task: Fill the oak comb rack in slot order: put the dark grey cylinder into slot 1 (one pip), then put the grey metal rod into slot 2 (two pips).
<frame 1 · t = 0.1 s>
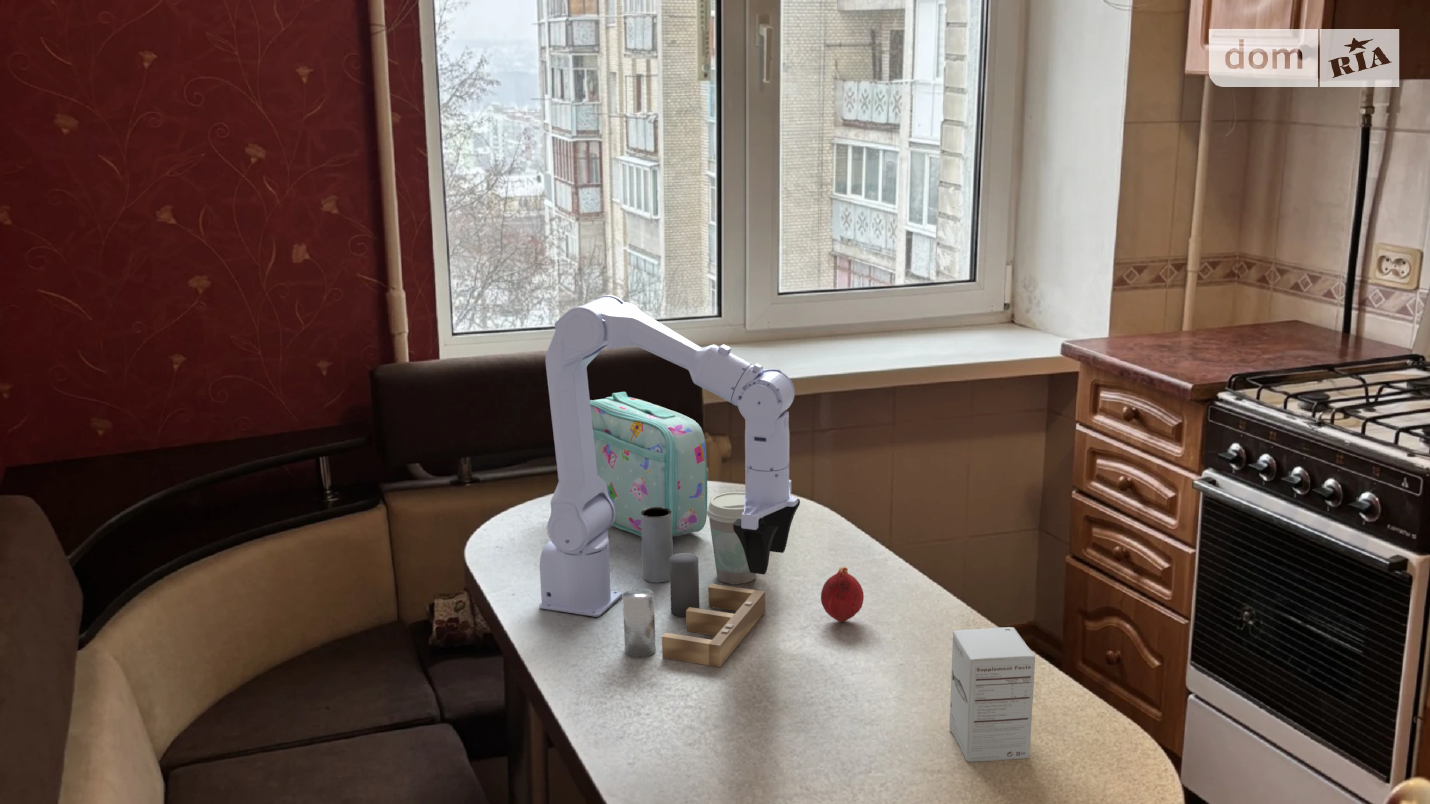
hand: (767, 561, 168), 10 cm above the table, tool pointing down, fingers open, 7 cm apart
rack: (715, 633, 170), on the table
dark grey cylinder: (685, 612, 177), on the table
coffee cup: (736, 577, 189), on the table
supplement box: (988, 745, 142), on the table
lunch box: (637, 525, 210), on the table
grey rod: (640, 651, 166), on the table
onion: (841, 623, 173), on the table
grey tubular piece: (658, 578, 189), on the table
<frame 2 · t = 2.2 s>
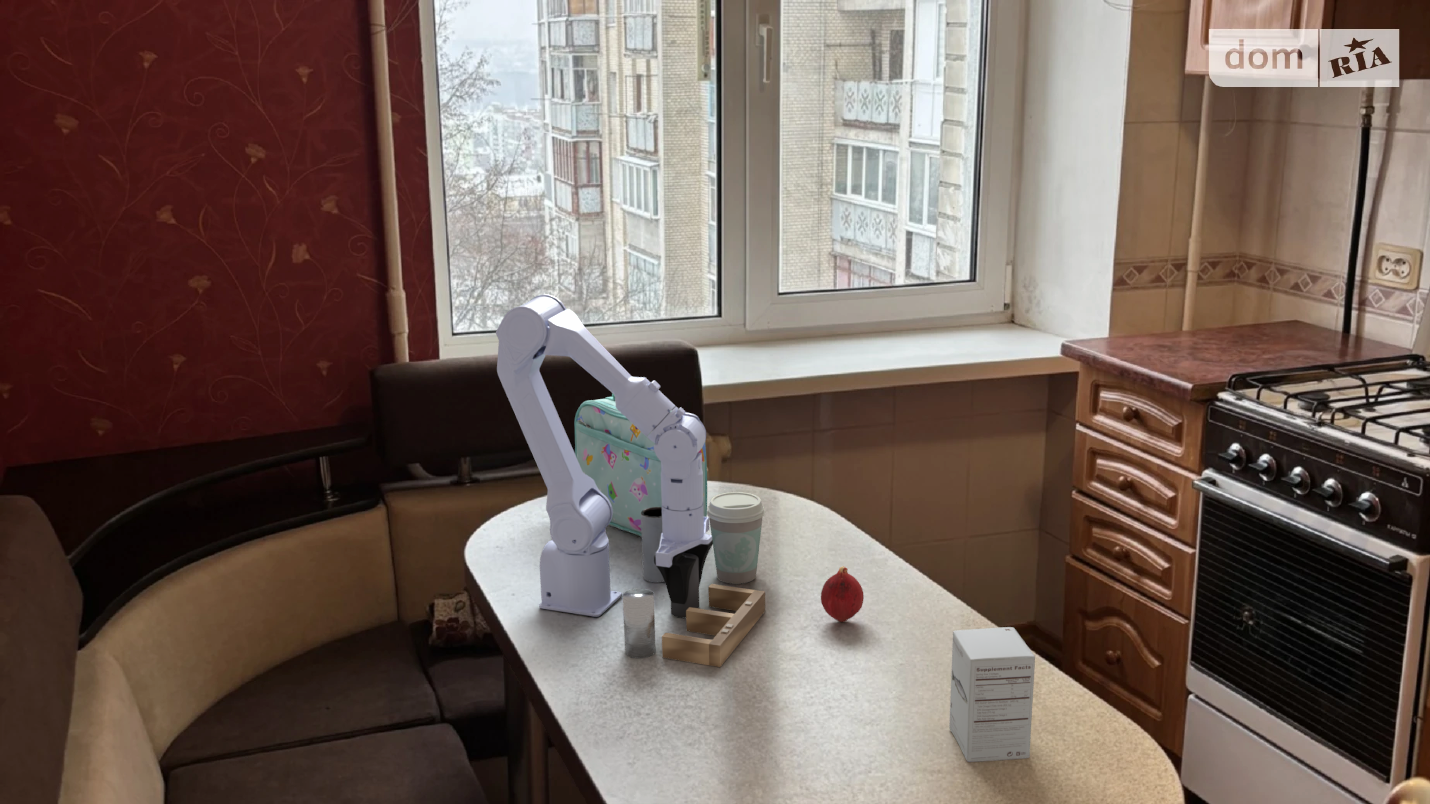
hand: (684, 595, 177), 2 cm above the table, tool pointing down, fingers closed on dark grey cylinder, 4 cm apart
dark grey cylinder: (685, 611, 177), on the table, touching gripper
everything else where it was.
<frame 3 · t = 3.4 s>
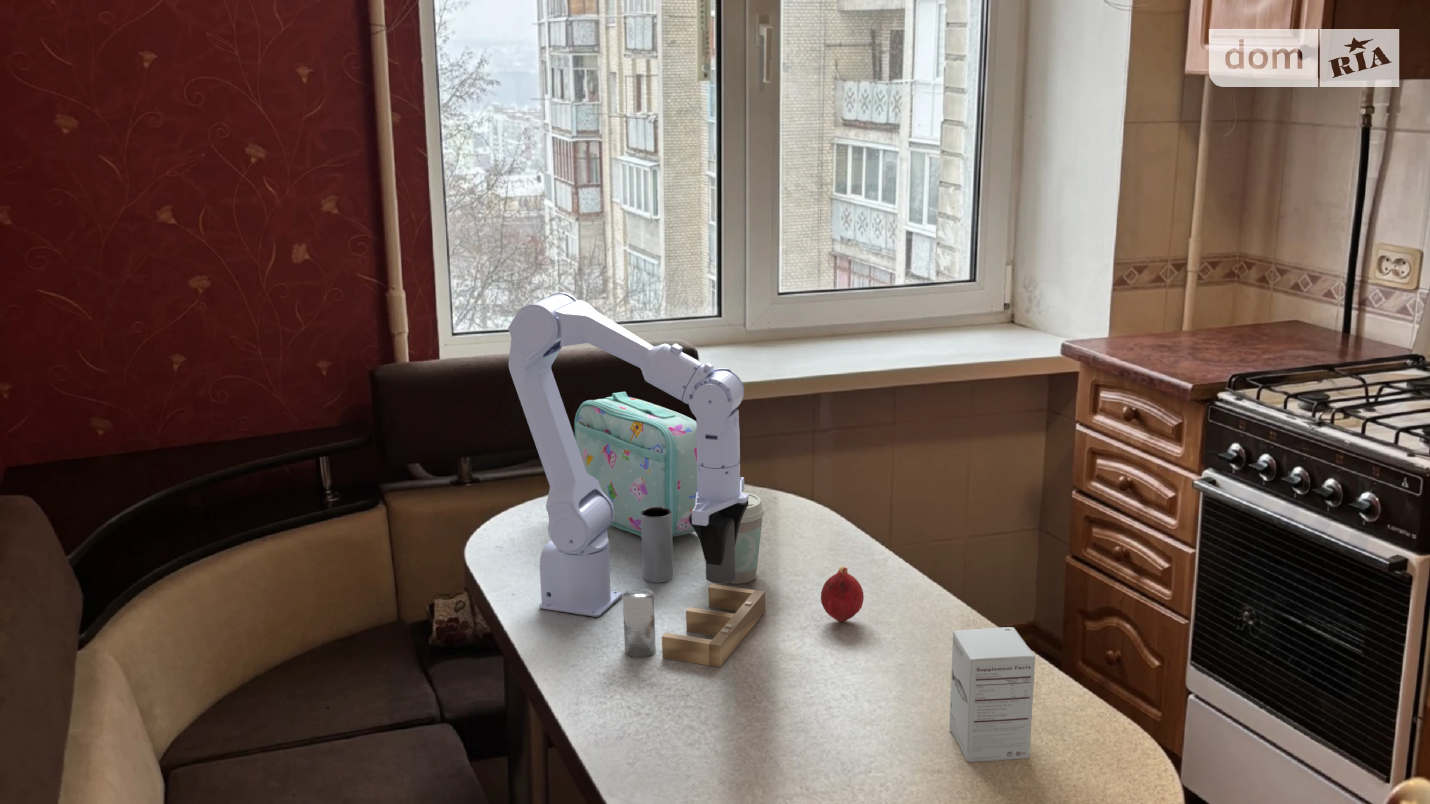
hand: (720, 557, 172), 9 cm above the table, tool pointing down, fingers closed on dark grey cylinder, 4 cm apart
dark grey cylinder: (720, 577, 173), point 6 cm above the table, touching gripper
everything else where it was.
when the fingers open (4 cm above the table, at t = 4.8 s): dark grey cylinder stays where it is, on the table.
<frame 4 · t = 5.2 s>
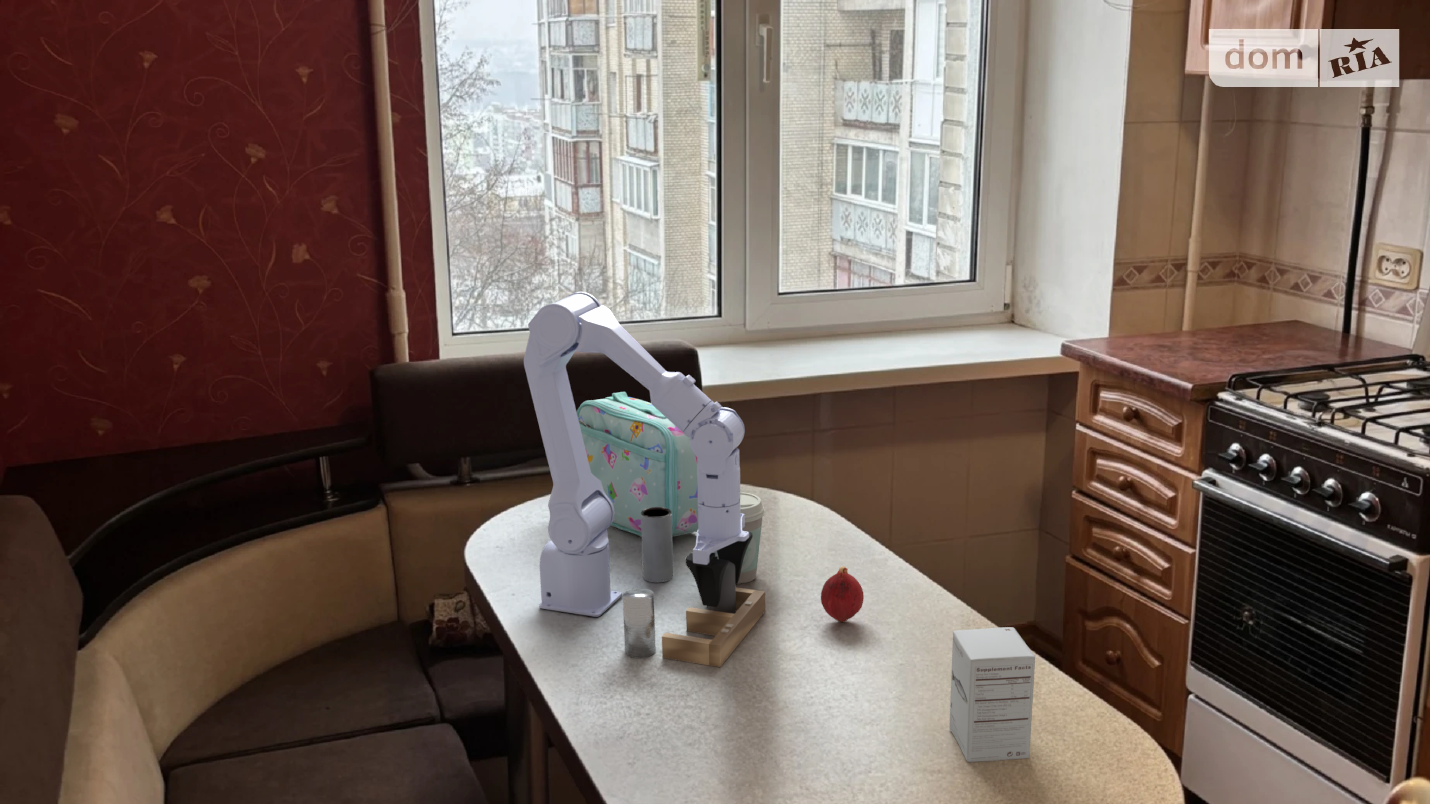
hand: (720, 594, 173), 4 cm above the table, tool pointing down, fingers open, 7 cm apart
dark grey cylinder: (721, 620, 174), on the table
everything else where it was.
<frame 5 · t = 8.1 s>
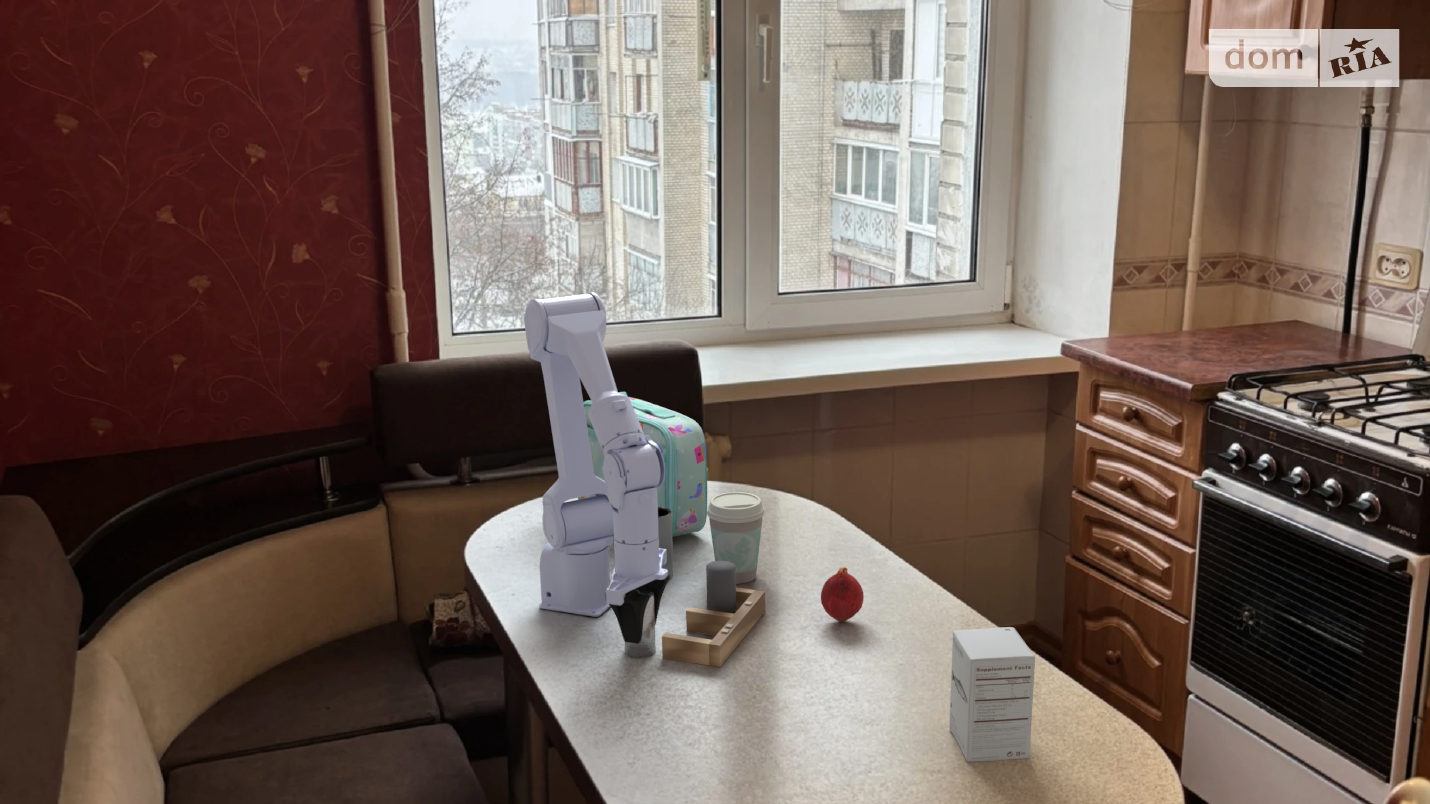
hand: (639, 634, 165), 2 cm above the table, tool pointing down, fingers closed on grey rod, 4 cm apart
grey rod: (640, 651, 166), on the table, touching gripper
everything else where it was.
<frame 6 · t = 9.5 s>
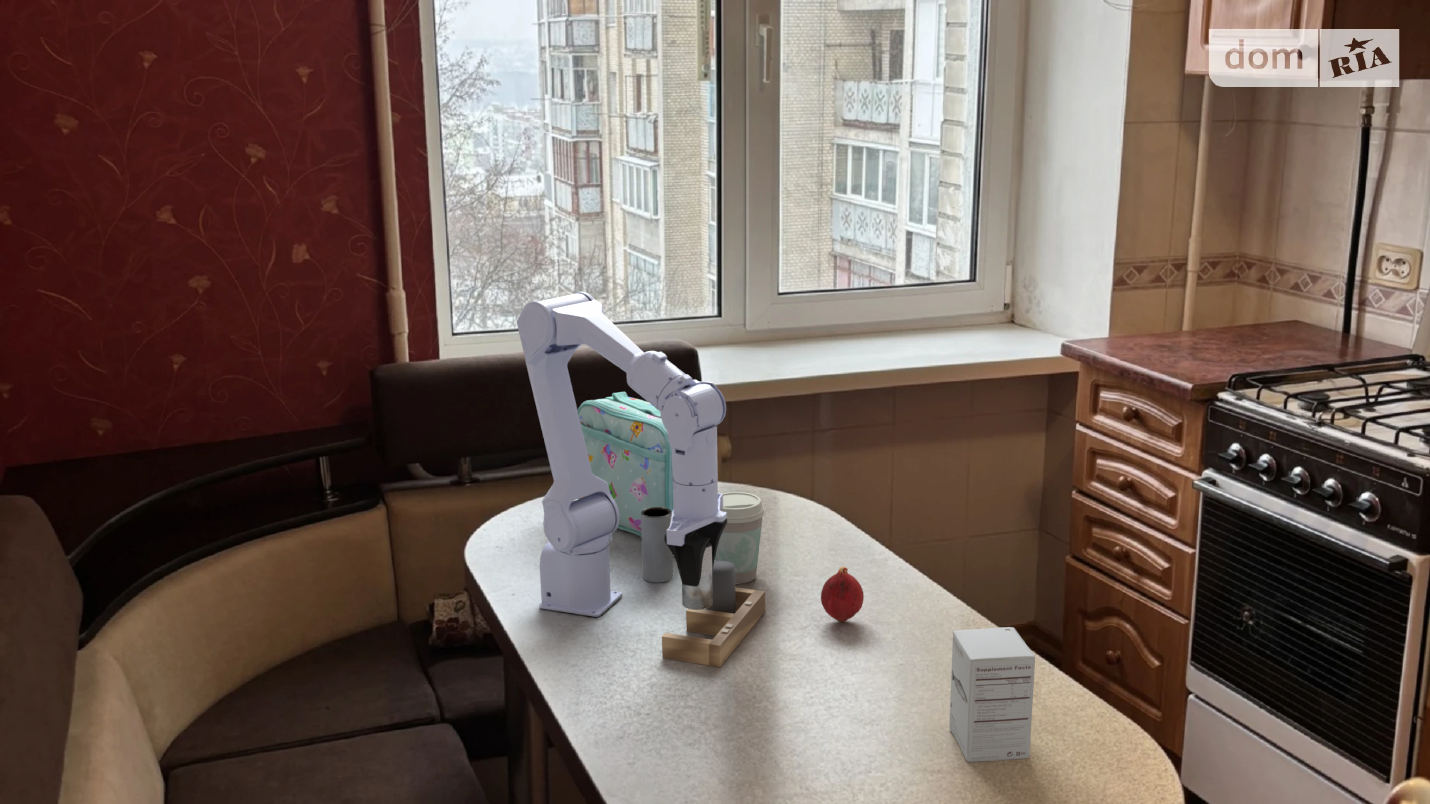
hand: (697, 577, 164), 10 cm above the table, tool pointing down, fingers closed on grey rod, 4 cm apart
grey rod: (697, 603, 165), point 6 cm above the table, touching gripper
everything else where it was.
when the fingers open (4 cm above the table, at t = 10.9 s): grey rod stays where it is, on the table.
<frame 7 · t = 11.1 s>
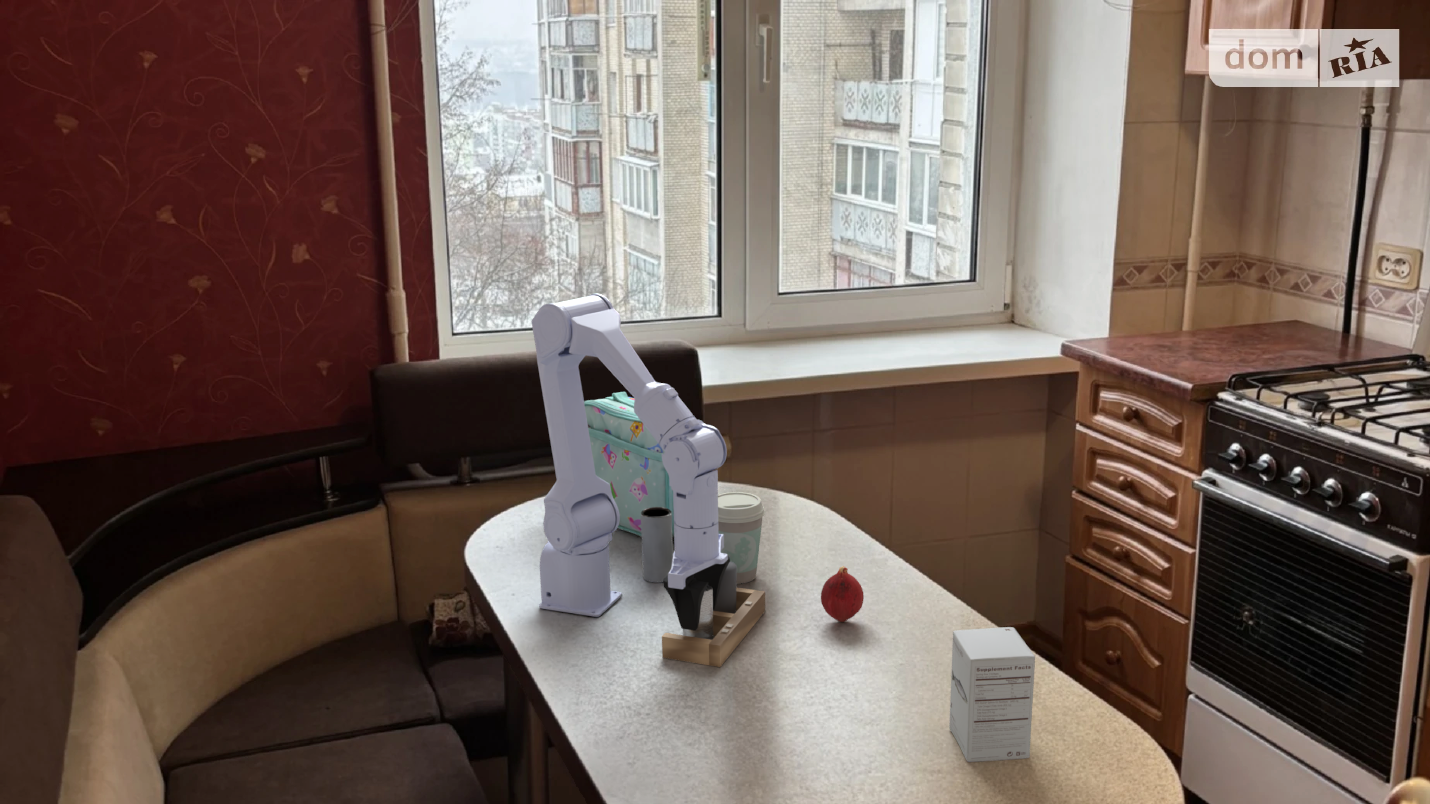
hand: (698, 618, 166), 4 cm above the table, tool pointing down, fingers open, 6 cm apart
grey rod: (698, 645, 167), on the table
everything else where it was.
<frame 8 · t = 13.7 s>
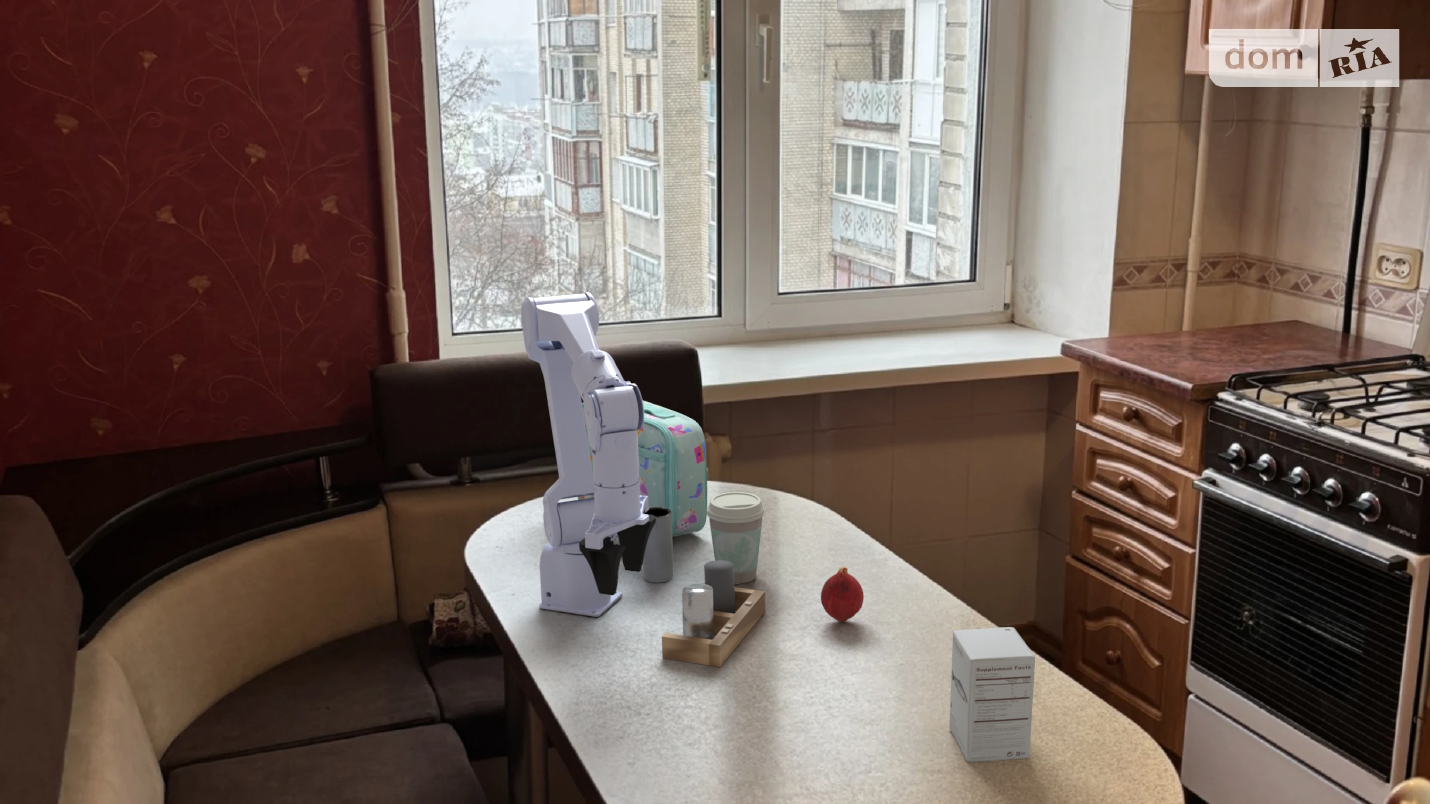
hand: (620, 581, 162), 10 cm above the table, tool pointing down, fingers open, 7 cm apart
nothing on the table moved.
at the end: dark grey cylinder inside the target area (0.1 cm from its centre), on the table; grey rod inside the target area (0.1 cm from its centre), on the table; grey rod tilted 0° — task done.
